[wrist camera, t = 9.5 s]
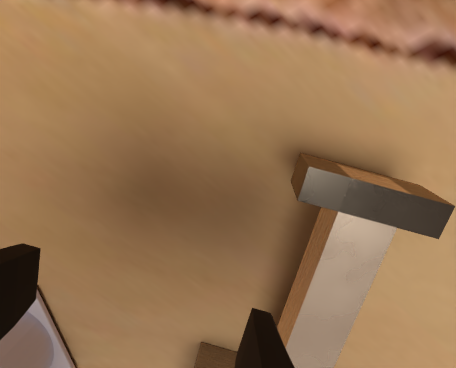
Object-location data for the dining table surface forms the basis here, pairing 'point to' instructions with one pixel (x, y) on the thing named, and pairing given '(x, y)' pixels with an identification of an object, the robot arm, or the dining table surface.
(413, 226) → the shaft
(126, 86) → the dining table surface
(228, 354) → the bearing block
